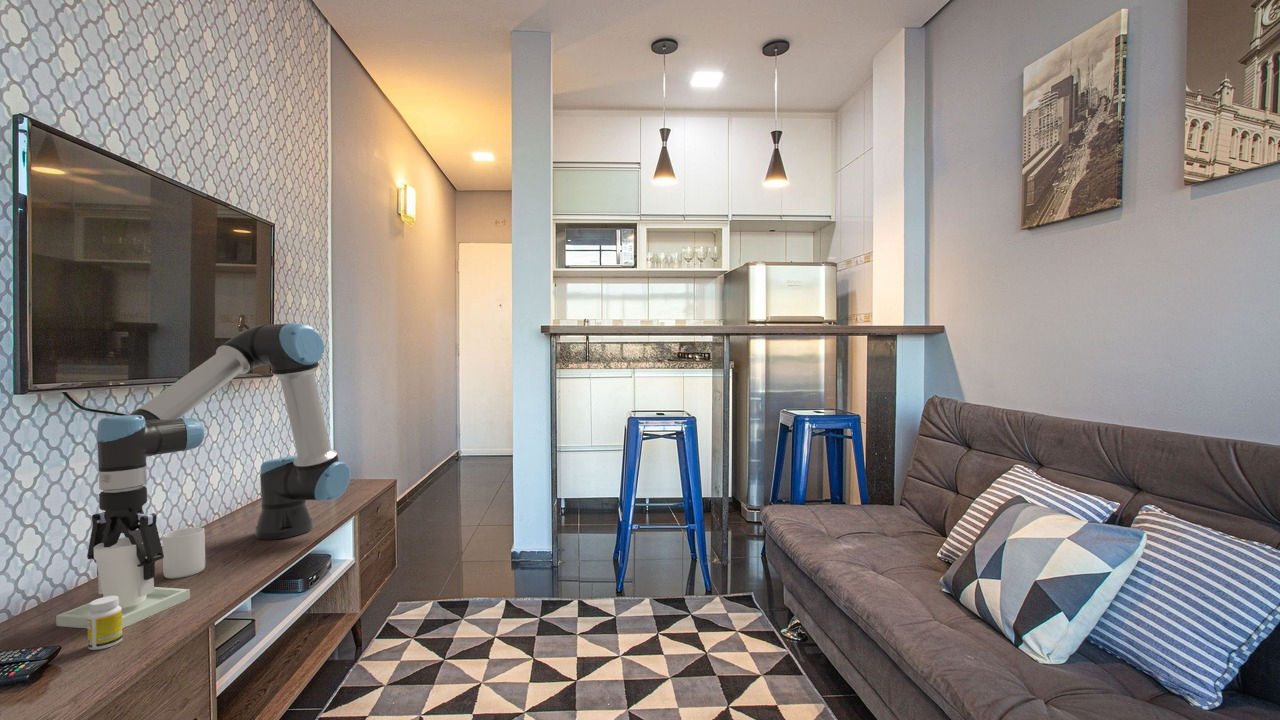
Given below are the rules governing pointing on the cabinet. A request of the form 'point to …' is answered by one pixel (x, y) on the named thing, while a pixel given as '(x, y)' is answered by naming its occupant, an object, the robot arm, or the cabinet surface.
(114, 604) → the supplement bottle
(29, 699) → the cabinet surface
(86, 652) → the cabinet surface
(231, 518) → the cabinet surface
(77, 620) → the tray
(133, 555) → the foam cup
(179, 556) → the white oval container
